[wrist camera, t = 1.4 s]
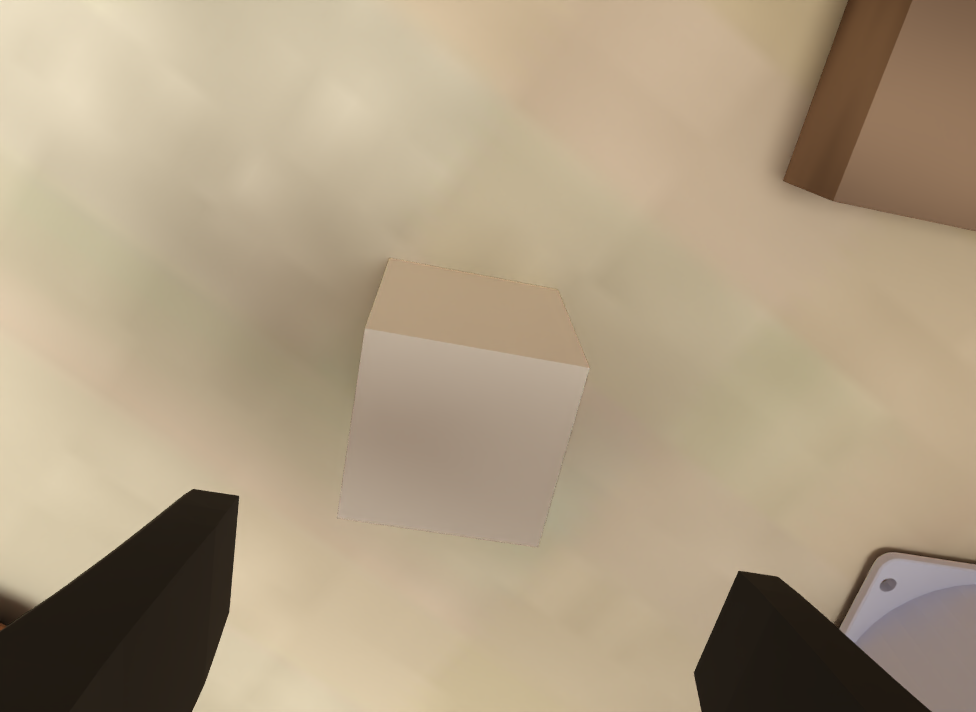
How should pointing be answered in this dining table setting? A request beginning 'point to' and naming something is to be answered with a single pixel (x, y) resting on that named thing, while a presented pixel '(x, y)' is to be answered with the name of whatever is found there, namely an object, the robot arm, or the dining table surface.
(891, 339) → the dining table surface
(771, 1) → the dining table surface
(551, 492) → the white block
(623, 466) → the dining table surface
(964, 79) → the walnut block
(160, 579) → the robot arm
